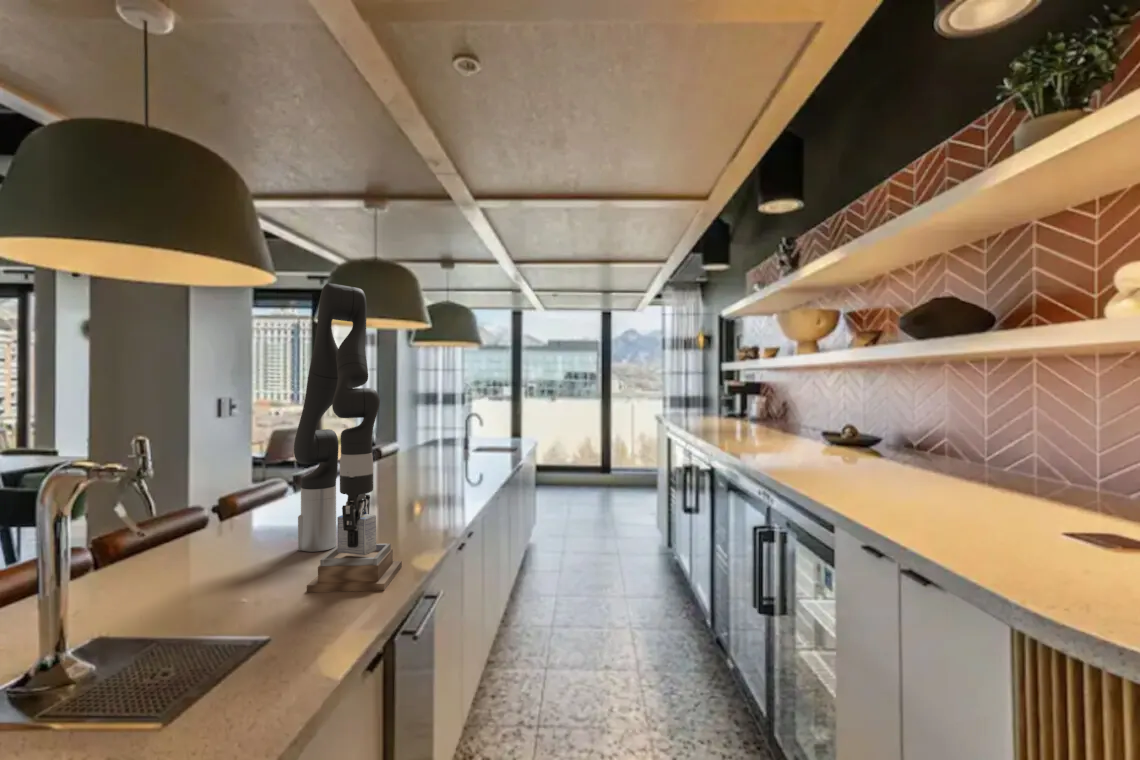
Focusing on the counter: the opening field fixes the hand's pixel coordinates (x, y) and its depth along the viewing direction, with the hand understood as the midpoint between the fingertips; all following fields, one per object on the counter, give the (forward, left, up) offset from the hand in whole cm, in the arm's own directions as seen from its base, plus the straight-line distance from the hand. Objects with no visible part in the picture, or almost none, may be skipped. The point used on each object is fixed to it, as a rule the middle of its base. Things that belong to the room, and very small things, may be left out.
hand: (356, 543), depth 142 cm
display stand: (0, 0, -8) cm, 8 cm away
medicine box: (0, 0, -2) cm, 2 cm away
